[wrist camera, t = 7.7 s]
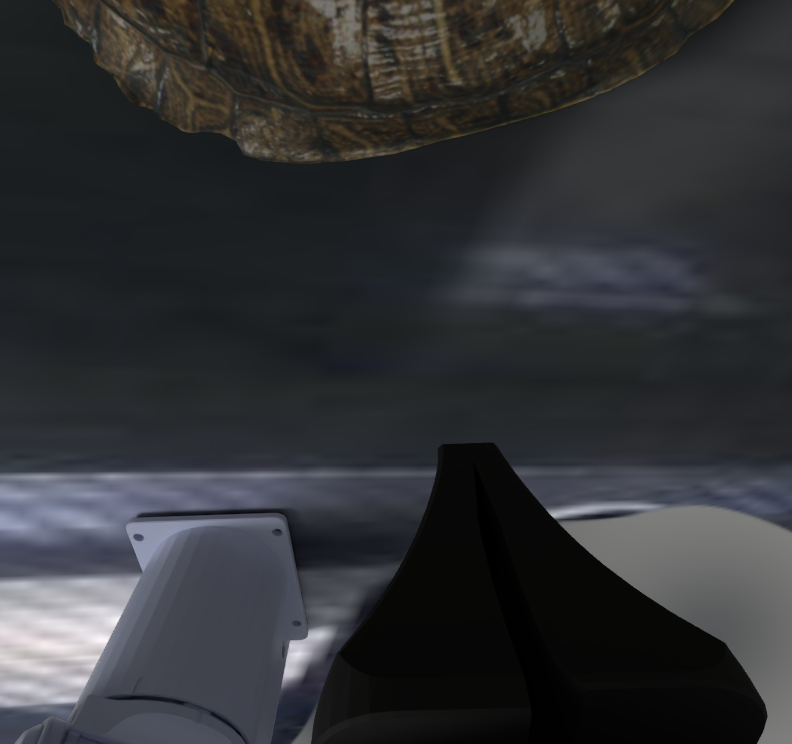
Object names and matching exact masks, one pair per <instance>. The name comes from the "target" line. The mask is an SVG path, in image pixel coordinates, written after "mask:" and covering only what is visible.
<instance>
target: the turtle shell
mask: <svg viewBox="0 0 792 744" xmlns="http://www.w3.org/2000/svg"><path fill="white" fill-rule="evenodd" d="M52 1H53V2H54V3H55V4H56V5H57V6H58V7H59V8H60V9H61V10H62V13H63V18H64V23H65V25H67V26H68V27H70V28H72V29H73V30H74V31H75V32H76V33H77V34H78V36H79V37H80V38H81V39H84V40H86V41H88V42H89V43H90V46H91V49H92V53H93V57H94V62H95V63H96V64H97V65H99V66H100V67H102V68H103V69H105V70H106V71H108V72H109V73H110V74H111V76H112V77H113V78H114V79H115V80H116V82H117V83H118V85H119V87H120V89H121V91H122V93H123V95H124V96H125V97H126V98H127V99H128V100H130V101H131V102H132V103H133V104H134V105H138V106H143V107H147V108H150V109H153V114H154V118H157V119H161V120H165V121H167V122H169V123H171V124H173V125H174V126H176V127H178V128H179V129H180V130H182V131H185V132H191V133H195V132H214V133H221V134H223V135H225V136H227V137H229V138H231V139H233V140H235V141H237V143H238V145H239V147H240V149H241V151H242V153H243V155H245V156H248V157H251V158H254V159H257V160H263V161H276V162H287V163H295V164H313V163H321V162H336V161H349V160H355V159H361V158H367V157H374V156H382V155H389V154H395V153H399V152H403V151H406V150H410V149H414V148H417V147H421V146H425V145H428V144H431V143H434V142H438V141H441V140H445V139H450V138H455V137H459V136H464V135H468V134H472V133H476V132H479V131H483V130H487V129H490V128H494V127H498V126H501V125H505V124H509V123H512V122H516V121H519V120H523V119H527V118H530V117H534V116H537V115H541V114H544V113H548V112H551V111H555V110H558V109H561V108H564V107H566V106H569V105H572V104H575V103H578V102H581V101H584V100H586V99H589V98H592V97H595V96H597V95H599V94H602V93H604V92H607V91H609V90H611V89H613V88H616V87H618V86H620V85H622V84H624V83H626V82H628V81H630V80H632V79H634V78H636V77H638V76H640V75H641V74H643V73H645V72H646V71H648V70H649V69H651V68H653V67H654V66H656V65H658V64H659V63H661V62H663V61H664V60H666V59H667V58H669V57H671V56H672V55H674V54H675V53H677V51H678V50H679V49H680V48H681V46H682V45H683V44H684V43H685V42H686V40H687V39H688V38H689V37H690V36H691V35H692V34H694V33H695V32H697V31H699V30H700V29H702V28H703V27H705V26H706V25H708V24H709V23H711V22H712V21H714V20H715V19H717V18H718V17H719V16H720V15H721V14H722V13H723V12H724V11H725V10H726V8H727V7H728V6H729V5H730V4H731V3H732V2H733V1H734V0H52Z"/></svg>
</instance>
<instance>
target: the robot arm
mask: <svg viewBox="0 0 792 744" xmlns="http://www.w3.org/2000/svg"><path fill="white" fill-rule="evenodd" d="M275 529H280V530H281V531H278V530H275ZM126 530H127V533H128V535H129V538H130V540H131V543H132V545H133V548H134V551H135V553H136V556H137V558H138V561H139V563H140V566H141V568H142V571H143V574H142V576H141V578H140V580H139V582H138V584H137V586H136V588H135V590H134V592H133V594H132V595H131V597H130V599H129V601H128V603H127V605H126V607H125V609H124V611H123V613H122V615H121V617H120V619H119V621H118V623H117V625H116V627H115V629H114V631H113V633H112V635H111V637H110V639H109V641H108V643H107V645H106V647H105V649H104V651H103V653H102V655H101V657H100V658H99V660H98V662H97V664H96V666H95V668H94V670H93V672H92V674H91V676H90V678H89V680H88V682H87V684H86V686H85V688H84V690H83V692H82V694H81V696H80V698H79V700H78V702H77V704H76V706H75V708H74V710H73V712H72V714H71V716H70V717H69V718H68V719H67V720H66V722H65V721H62V720H60V719H57V718H55V717H50V718H48V719H46V720H45V721H44V722H43V723H42V724H39V725H37V726H35V727H33V728H31V729H29V730H27V731H25V732H24V733H23V734H22V735H21V736H20V737H19V739H18V740H17V741H16V743H15V744H270V742H271V738H272V733H273V727H274V722H275V717H276V711H277V706H278V701H279V695H280V690H281V685H282V679H283V674H284V669H285V663H286V658H287V653H288V647H289V642H290V640H303V639H305V638H306V637H307V635H308V625H307V620H306V614H305V609H304V604H303V599H302V594H301V589H300V584H299V579H298V574H297V568H296V563H295V558H294V553H293V548H292V543H291V538H290V533H289V527H288V522H287V519H286V517H285V516H284V515H282V514H280V513H256V514H227V515H199V516H170V517H142V518H132V519H131V520H130V521H129V522H128V524H127V526H126ZM140 534H141V535H140ZM766 720H767V711H766V707H765V703H764V702H763V700H762V698H761V697H760V695H759V693H758V692H757V690H756V688H755V687H754V685H753V683H752V681H751V680H750V678H749V677H748V675H747V674H746V672H745V670H744V669H743V667H742V666H741V665H740V663H739V662H738V661H737V659H736V658H735V657H734V655H733V654H732V653H731V651H730V650H729V648H728V647H727V645H726V644H725V643H724V642H722V641H721V640H719V639H717V638H715V637H714V636H712V635H710V634H708V633H706V632H705V631H703V630H701V629H700V628H698V627H696V626H694V625H692V624H691V623H689V622H687V621H686V620H684V619H682V618H680V617H678V616H677V615H675V614H674V613H672V612H670V611H669V610H667V609H666V608H664V607H663V606H661V605H659V604H658V603H656V602H655V601H653V600H652V599H650V598H649V597H647V596H646V595H644V594H643V593H641V592H640V591H638V590H637V589H636V588H634V587H633V586H631V585H630V584H629V583H627V582H626V581H625V580H623V579H622V578H621V577H619V576H618V575H616V574H615V573H614V572H613V571H611V570H610V569H609V568H607V567H606V566H605V565H603V564H602V563H601V562H600V561H599V560H597V559H596V558H595V557H594V556H593V555H592V554H590V553H589V552H588V551H587V550H586V549H585V548H584V547H583V546H581V545H580V544H579V543H578V542H577V541H576V540H575V539H574V538H573V537H572V536H571V535H570V534H569V533H568V532H567V531H566V530H564V528H563V527H562V526H561V525H560V524H559V523H558V522H557V521H556V520H555V519H554V518H553V517H552V516H551V515H550V514H549V513H548V512H547V511H546V509H545V508H544V507H543V506H542V505H541V504H540V503H539V501H538V500H537V499H536V498H535V497H534V496H533V494H532V493H531V492H530V491H529V490H528V488H527V487H526V486H525V485H524V483H523V482H522V481H521V480H520V478H519V477H518V476H517V474H516V473H515V472H514V470H513V469H512V468H511V466H510V465H509V463H508V462H507V461H506V459H505V458H504V456H503V455H502V453H501V452H500V450H499V449H498V447H497V446H496V445H495V444H494V443H468V444H442V445H441V446H440V447H439V448H438V467H437V473H436V477H435V482H434V485H433V489H432V492H431V496H430V499H429V502H428V505H427V508H426V511H425V513H424V516H423V519H422V521H421V524H420V526H419V529H418V531H417V533H416V536H415V538H414V540H413V542H412V544H411V546H410V548H409V550H408V552H407V554H406V556H405V558H404V560H403V562H402V563H401V565H400V567H399V569H398V571H397V572H396V574H395V576H394V578H393V579H392V581H391V582H390V584H389V586H388V587H387V589H386V590H385V592H384V593H383V595H382V596H381V598H380V599H379V600H378V602H377V603H376V605H375V606H374V608H373V609H372V610H371V612H370V613H369V615H368V616H367V618H366V619H365V620H364V621H363V623H362V624H361V625H360V626H359V628H358V629H357V630H356V631H355V632H354V634H353V635H352V636H351V637H350V638H349V640H348V641H347V642H346V643H345V644H344V646H343V647H342V648H341V649H340V650H339V652H338V653H337V654H336V657H335V659H334V662H333V664H332V666H331V669H330V671H329V674H328V676H327V679H326V682H325V685H324V687H323V690H322V693H321V696H320V699H319V703H318V707H317V711H316V715H315V719H314V725H313V733H312V741H311V744H757V742H758V740H759V738H760V737H761V735H762V733H763V730H764V727H765V723H766Z"/></svg>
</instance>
